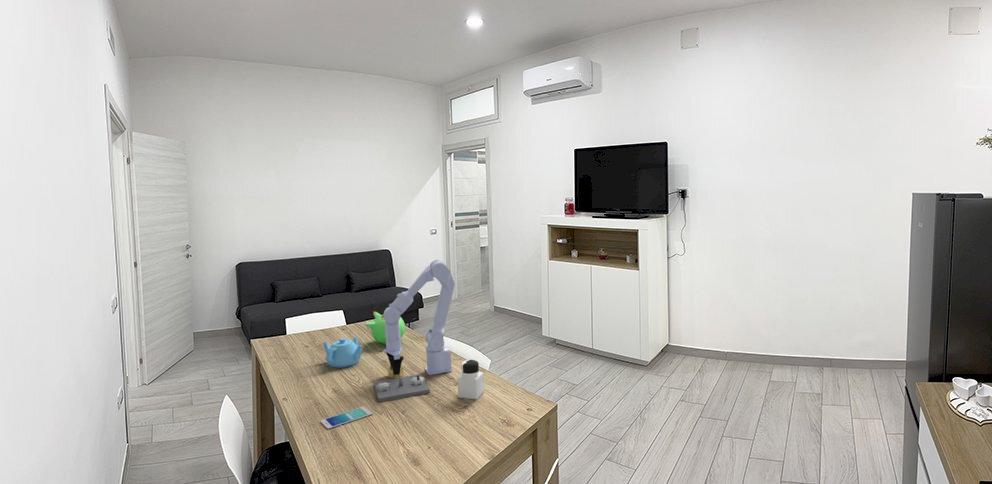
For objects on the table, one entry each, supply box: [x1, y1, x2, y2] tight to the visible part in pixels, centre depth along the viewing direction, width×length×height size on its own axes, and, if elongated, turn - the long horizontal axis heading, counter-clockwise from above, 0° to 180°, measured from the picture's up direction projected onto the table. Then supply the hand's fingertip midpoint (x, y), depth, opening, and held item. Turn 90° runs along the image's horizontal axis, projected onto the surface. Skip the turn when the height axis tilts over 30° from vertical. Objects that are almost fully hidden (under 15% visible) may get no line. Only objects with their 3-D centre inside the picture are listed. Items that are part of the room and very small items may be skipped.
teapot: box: [322, 336, 364, 369], centre depth 209 cm, size 15×15×11 cm
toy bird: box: [364, 311, 406, 345], centre depth 234 cm, size 18×17×15 cm
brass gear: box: [387, 364, 404, 379], centre depth 191 cm, size 6×6×3 cm
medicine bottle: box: [456, 359, 485, 400], centre depth 171 cm, size 7×7×12 cm
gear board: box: [373, 373, 431, 403], centre depth 179 cm, size 18×16×4 cm
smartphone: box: [320, 406, 374, 430], centre depth 157 cm, size 8×1×15 cm
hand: (395, 371), depth 191 cm, fingers closed on brass gear, 6 cm apart
